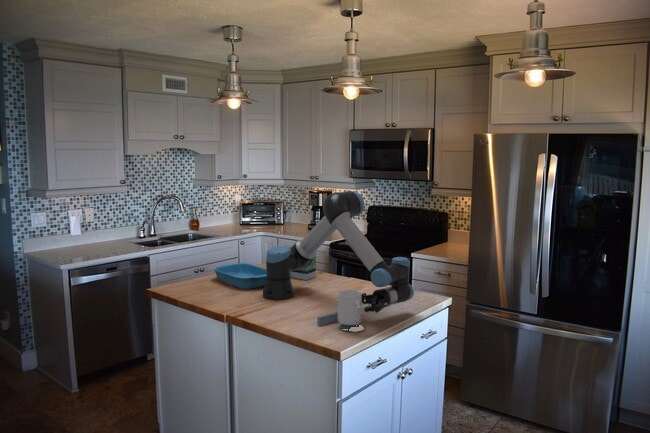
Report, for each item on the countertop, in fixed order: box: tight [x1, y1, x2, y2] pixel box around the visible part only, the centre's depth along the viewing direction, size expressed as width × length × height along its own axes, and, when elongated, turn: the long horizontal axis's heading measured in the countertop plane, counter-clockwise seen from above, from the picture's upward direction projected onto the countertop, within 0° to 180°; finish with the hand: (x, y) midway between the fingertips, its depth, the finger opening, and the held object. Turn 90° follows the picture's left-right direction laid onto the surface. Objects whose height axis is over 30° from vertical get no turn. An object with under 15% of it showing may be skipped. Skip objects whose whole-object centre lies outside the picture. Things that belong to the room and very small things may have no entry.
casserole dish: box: [213, 262, 266, 290], centre depth 275 cm, size 37×22×7 cm, turn 42°
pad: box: [339, 323, 366, 332], centre depth 208 cm, size 10×10×1 cm
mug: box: [337, 289, 363, 325], centre depth 206 cm, size 10×12×12 cm
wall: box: [316, 311, 338, 327], centre depth 216 cm, size 18×2×4 cm, turn 130°
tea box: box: [291, 250, 317, 281], centre depth 287 cm, size 15×10×15 cm, turn 58°
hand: (346, 307), depth 204 cm, fingers closed on mug, 12 cm apart
